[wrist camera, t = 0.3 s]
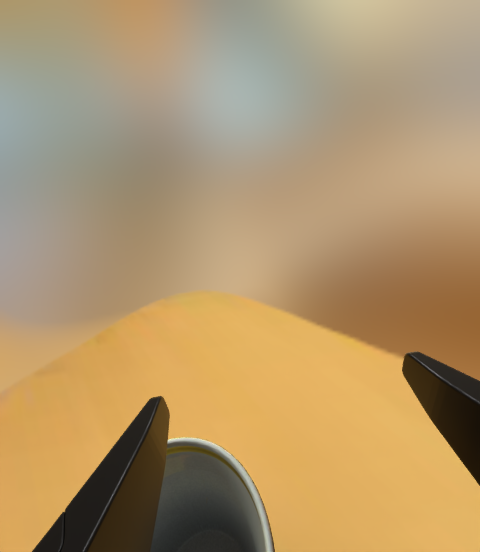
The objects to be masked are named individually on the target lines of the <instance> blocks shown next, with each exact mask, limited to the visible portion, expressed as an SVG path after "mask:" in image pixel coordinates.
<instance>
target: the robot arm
mask: <svg viewBox="0 0 480 552" xmlns="http://www.w3.org/2000/svg"><path fill="white" fill-rule="evenodd" d="M402 372H403V375H404V377H405V379H406V380H407V382H408V383H409V385H410V387H411V388H412V390H413V392H414V393H415V395H416V397H417V398H418V400H419V401H420V403H421V405H422V406H423V408H424V410H425V411H426V413H427V414H428V416H429V417H430V419H431V420H432V422H433V423H434V425H435V426H436V427H437V429H438V430H439V431H440V433H441V434H442V435H443V437H444V438H445V439H446V441H447V442H448V443H449V445H450V446H451V448H452V449H453V450H454V452H455V453H456V454H457V456H458V457H459V458H460V460H461V461H462V462H463V464H464V465H465V466H466V468H467V469H468V471H469V472H470V473H471V475H472V476H473V477H474V479H475V480H476V481H477V483H478V484H479V485H480V381H479V380H477V379H474V378H472V377H470V376H468V375H466V374H464V373H462V372H460V371H458V370H456V369H454V368H451V367H449V366H447V365H445V364H443V363H441V362H439V361H437V360H435V359H433V358H431V357H428V356H426V355H424V354H422V353H420V352H410V353H406V354H405V356H404V361H403V367H402ZM169 418H170V414H169V409H168V407H167V405H166V402H165V400H164V398H163V397H162V396H158V397H153V398H151V399H150V400H149V401H148V402H147V403H146V405H145V406H144V407H143V409H142V410H141V411H140V412H139V414H138V415H137V416H136V418H135V419H134V420H133V422H132V423H131V424H130V425H129V427H128V428H127V429H126V431H125V432H124V433H123V435H122V436H121V437H120V438H119V440H118V441H117V442H116V444H115V445H114V446H113V448H112V449H111V450H110V452H109V453H108V454H107V455H106V457H105V458H104V459H103V461H102V462H101V463H100V465H99V466H98V467H97V468H96V470H95V471H94V472H93V474H92V475H91V476H90V478H89V479H88V480H87V481H86V483H85V484H84V485H83V487H82V488H81V489H80V491H79V492H78V493H77V494H76V496H75V497H74V498H73V500H72V501H71V502H70V504H69V505H68V506H67V508H66V509H65V512H63V513H62V514H61V515H60V516H59V518H58V519H57V520H56V522H55V523H54V524H53V526H52V527H51V528H50V529H49V531H48V532H47V533H46V535H45V536H44V537H43V538H42V540H41V541H40V542H39V543H38V545H37V546H36V547H35V548H34V550H33V551H32V552H150V550H151V545H152V539H153V534H154V528H155V522H156V517H157V511H158V505H159V500H160V494H161V488H162V483H163V477H164V471H165V465H166V455H167V443H168V430H169Z"/></svg>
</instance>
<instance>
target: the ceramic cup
mask: <svg viewBox="0 0 480 552" xmlns="http://www.w3.org/2000/svg"><path fill="white" fill-rule="evenodd" d="M150 552H275V549H274V543H273V537H272V533H271V528H270V524H269V520H268V516H267V513H266V510H265V507H264V504H263V501H262V499H261V497H260V494H259V492H258V490H257V488H256V486H255V484H254V482H253V480H252V479H251V477H250V476H249V474H248V473H247V471H246V470H245V468H244V467H243V466H242V464H241V463H240V462H239V461H238V460H237V459H236V458H235V457H234V456H233V455H232V454H230V453H229V452H228V451H226V450H225V449H224V448H222V447H221V446H219V445H217V444H215V443H212V442H210V441H207V440H203V439H199V438H191V437H182V438H174V439H169V440H168V443H167V455H166V465H165V471H164V477H163V483H162V488H161V494H160V500H159V505H158V511H157V517H156V522H155V528H154V534H153V539H152V545H151V550H150Z"/></svg>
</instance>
